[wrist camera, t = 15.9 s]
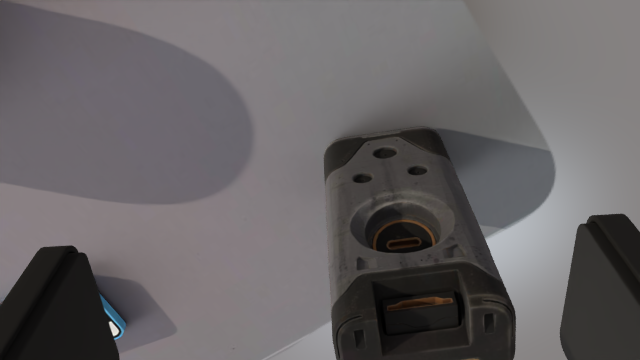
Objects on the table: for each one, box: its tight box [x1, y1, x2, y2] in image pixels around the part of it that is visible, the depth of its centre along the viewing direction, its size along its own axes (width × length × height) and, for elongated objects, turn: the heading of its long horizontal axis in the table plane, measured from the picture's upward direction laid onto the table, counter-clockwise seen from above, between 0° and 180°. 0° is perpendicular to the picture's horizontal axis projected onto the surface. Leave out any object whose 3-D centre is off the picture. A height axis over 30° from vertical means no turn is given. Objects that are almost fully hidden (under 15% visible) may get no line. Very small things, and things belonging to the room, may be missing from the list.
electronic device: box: [324, 127, 516, 360], centre depth 39 cm, size 9×6×20 cm, turn 99°
